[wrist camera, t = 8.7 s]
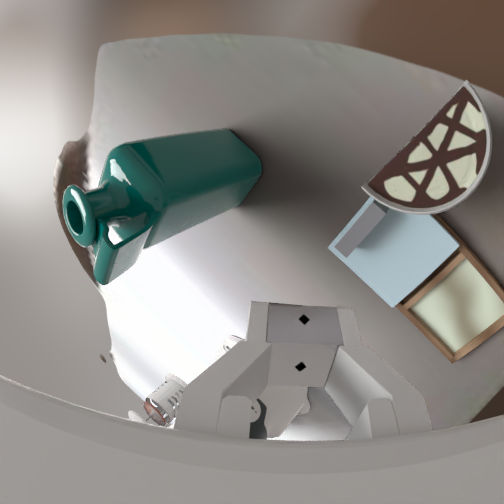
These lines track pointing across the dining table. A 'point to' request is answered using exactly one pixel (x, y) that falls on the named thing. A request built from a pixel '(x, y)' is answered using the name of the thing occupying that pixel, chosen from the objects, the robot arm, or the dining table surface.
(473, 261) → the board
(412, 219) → the cover
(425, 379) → the dining table surface
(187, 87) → the dining table surface
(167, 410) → the french press
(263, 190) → the dining table surface
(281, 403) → the robot arm
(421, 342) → the dining table surface
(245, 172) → the green bottle
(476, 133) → the food container
